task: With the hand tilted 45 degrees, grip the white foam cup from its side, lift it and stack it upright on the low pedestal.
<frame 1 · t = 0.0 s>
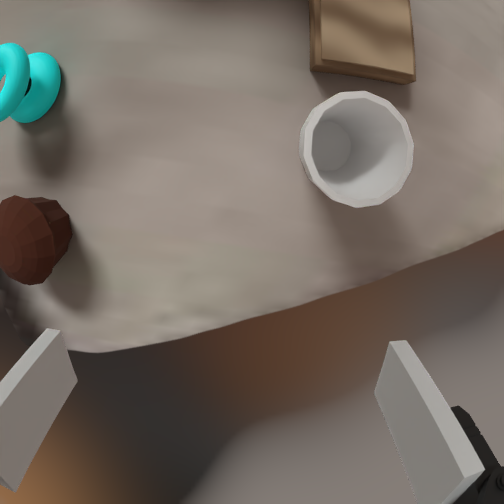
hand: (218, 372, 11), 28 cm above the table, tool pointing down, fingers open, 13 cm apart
pedestal: (357, 33, 30), on the table
donuts: (37, 88, 32), on the table
foam cup: (325, 145, 35), on the table
muffin: (48, 227, 39), on the table
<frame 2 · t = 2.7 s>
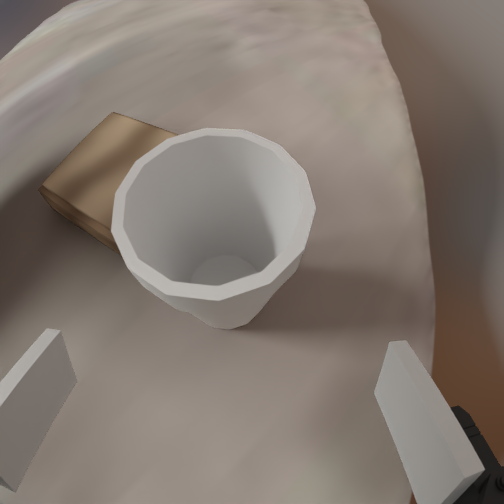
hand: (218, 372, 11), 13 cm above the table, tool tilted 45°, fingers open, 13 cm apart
pedestal: (122, 186, 30), on the table
foam cup: (226, 292, 26), on the table
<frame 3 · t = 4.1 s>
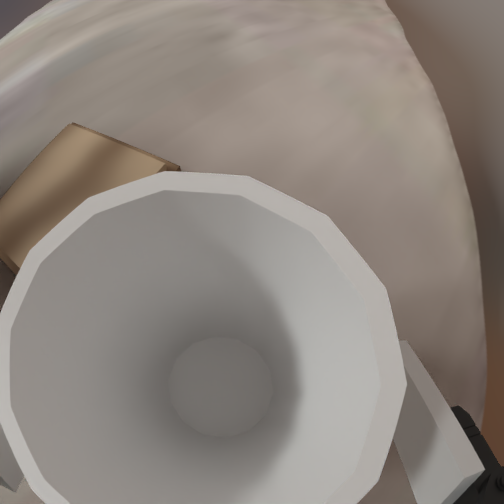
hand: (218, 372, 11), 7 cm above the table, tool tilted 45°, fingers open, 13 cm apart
pedestal: (81, 224, 22), on the table
foam cup: (221, 387, 18), on the table
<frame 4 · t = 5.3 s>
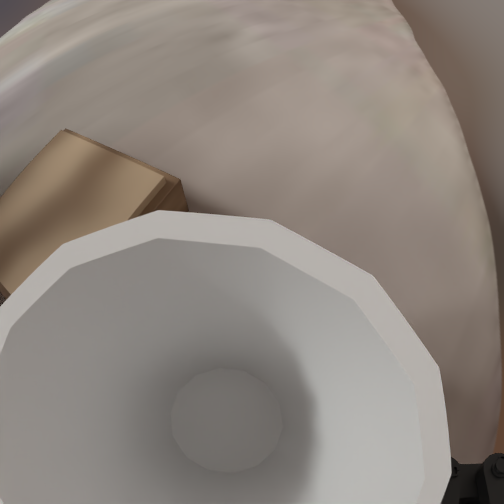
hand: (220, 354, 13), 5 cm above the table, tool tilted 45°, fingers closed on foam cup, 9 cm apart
pedestal: (75, 240, 20), on the table
foam cup: (226, 420, 16), on the table, touching gripper
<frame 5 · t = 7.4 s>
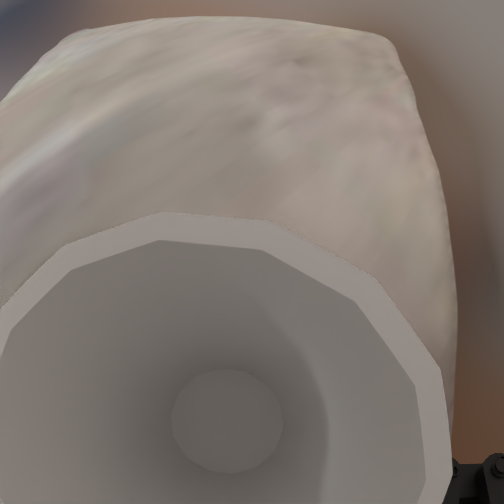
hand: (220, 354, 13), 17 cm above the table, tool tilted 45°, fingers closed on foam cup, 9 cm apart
foam cup: (227, 421, 16), point 12 cm above the table, touching gripper
when the fingers open (10 cm above the table, at t = 9.8 s): foam cup drops 1 cm, resting on pedestal.
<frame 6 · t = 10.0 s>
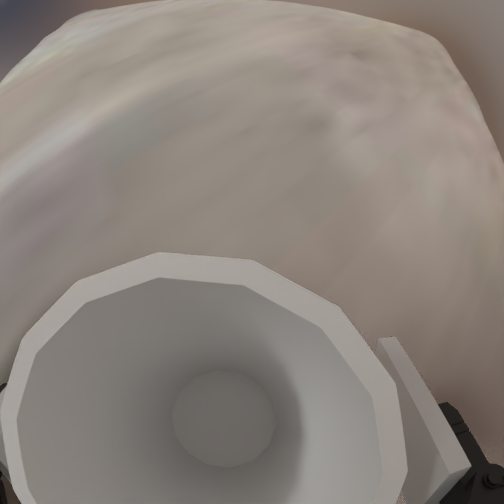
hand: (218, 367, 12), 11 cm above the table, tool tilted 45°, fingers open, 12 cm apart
foam cup: (224, 418, 17), point 4 cm above the table, touching pedestal
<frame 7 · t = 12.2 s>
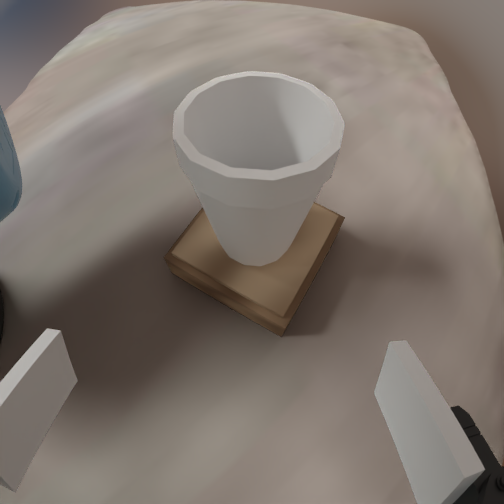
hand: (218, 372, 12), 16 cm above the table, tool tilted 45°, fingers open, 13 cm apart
pedestal: (257, 253, 32), on the table
foam cup: (255, 234, 28), point 4 cm above the table, touching pedestal
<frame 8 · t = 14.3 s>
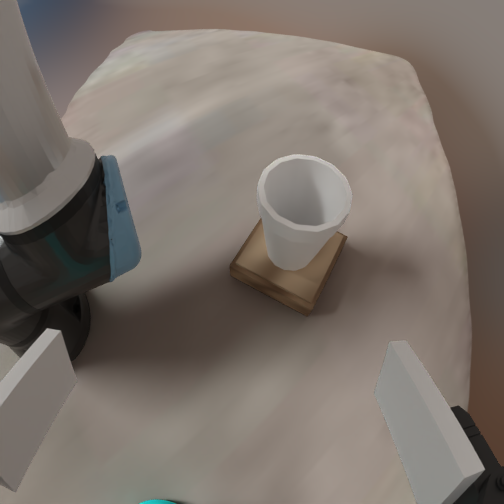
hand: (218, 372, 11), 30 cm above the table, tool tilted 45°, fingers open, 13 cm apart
pedestal: (288, 261, 46), on the table
foam cup: (290, 249, 43), point 4 cm above the table, touching pedestal
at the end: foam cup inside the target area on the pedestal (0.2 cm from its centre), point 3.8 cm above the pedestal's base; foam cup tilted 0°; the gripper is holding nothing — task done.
